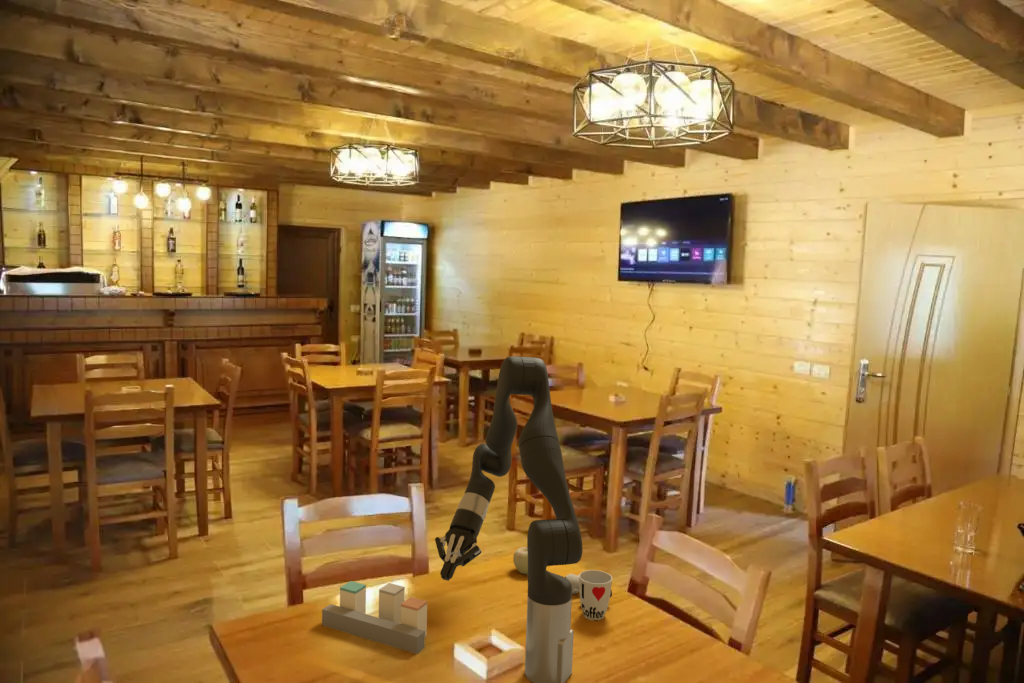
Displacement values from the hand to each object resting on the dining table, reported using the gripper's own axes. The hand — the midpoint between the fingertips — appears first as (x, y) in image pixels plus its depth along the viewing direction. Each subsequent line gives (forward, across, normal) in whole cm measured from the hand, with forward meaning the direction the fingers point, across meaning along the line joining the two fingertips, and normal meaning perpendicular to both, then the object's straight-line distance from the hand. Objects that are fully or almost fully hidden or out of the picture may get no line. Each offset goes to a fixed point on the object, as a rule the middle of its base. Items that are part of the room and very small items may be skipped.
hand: (444, 578), depth 171 cm
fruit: (-17, +7, +31) cm, 36 cm away
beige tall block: (+13, -8, -1) cm, 16 cm away
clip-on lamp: (-10, +24, +24) cm, 36 cm away
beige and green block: (+16, -17, -4) cm, 23 cm away
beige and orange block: (+16, 0, -4) cm, 16 cm away
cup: (-6, +32, +20) cm, 38 cm away
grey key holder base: (+15, -8, -1) cm, 17 cm away
